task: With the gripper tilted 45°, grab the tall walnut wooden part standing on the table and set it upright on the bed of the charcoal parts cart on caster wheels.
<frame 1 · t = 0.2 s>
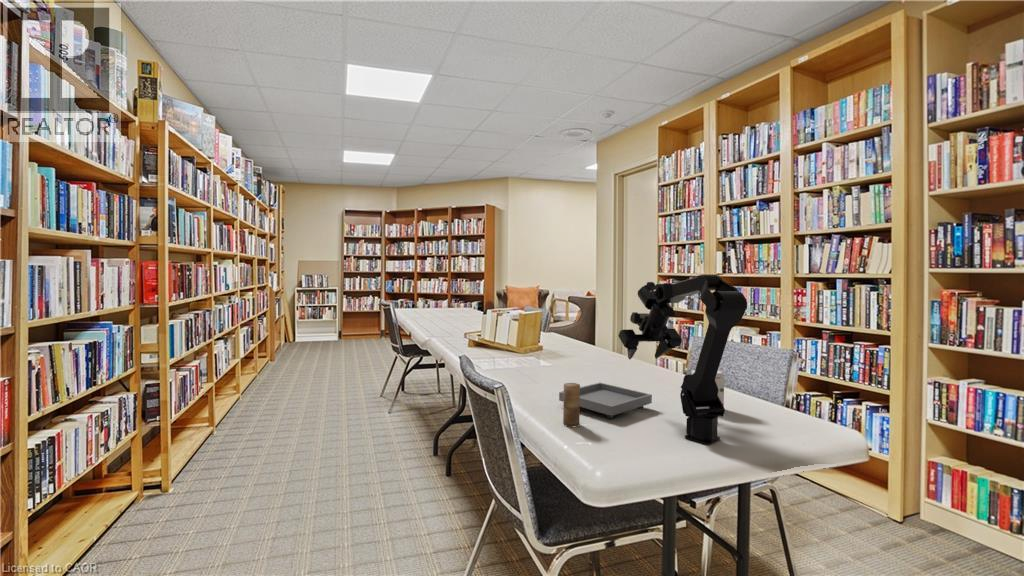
hand: (642, 358, 152), 15 cm above the table, tool tilted 35°, fingers open, 9 cm apart
parts cart: (605, 407, 149), on the table
ink box: (706, 409, 148), on the table
walnut part: (571, 424, 133), on the table
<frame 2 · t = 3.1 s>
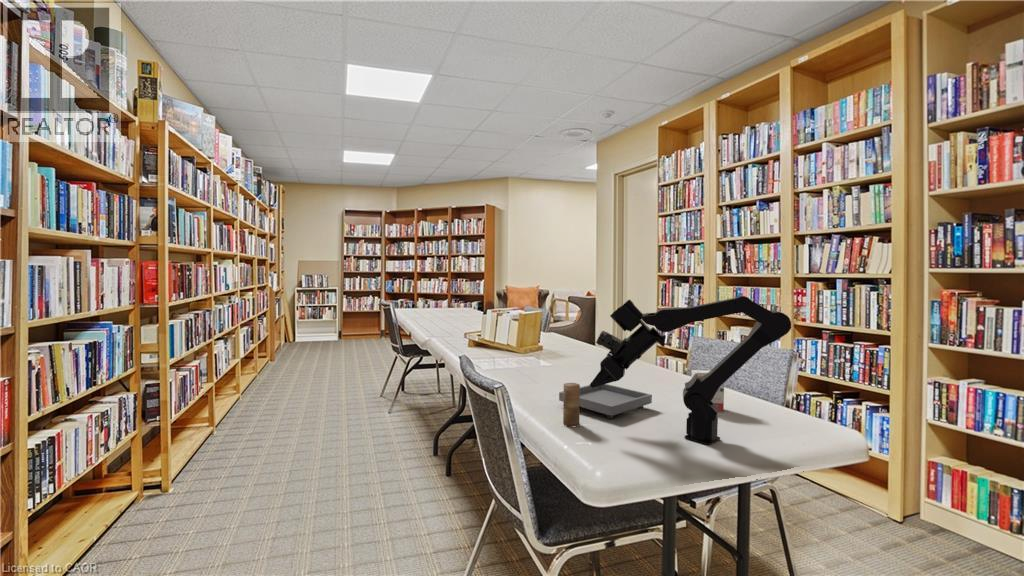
hand: (593, 382, 130), 12 cm above the table, tool tilted 45°, fingers open, 9 cm apart
nothing on the table moved.
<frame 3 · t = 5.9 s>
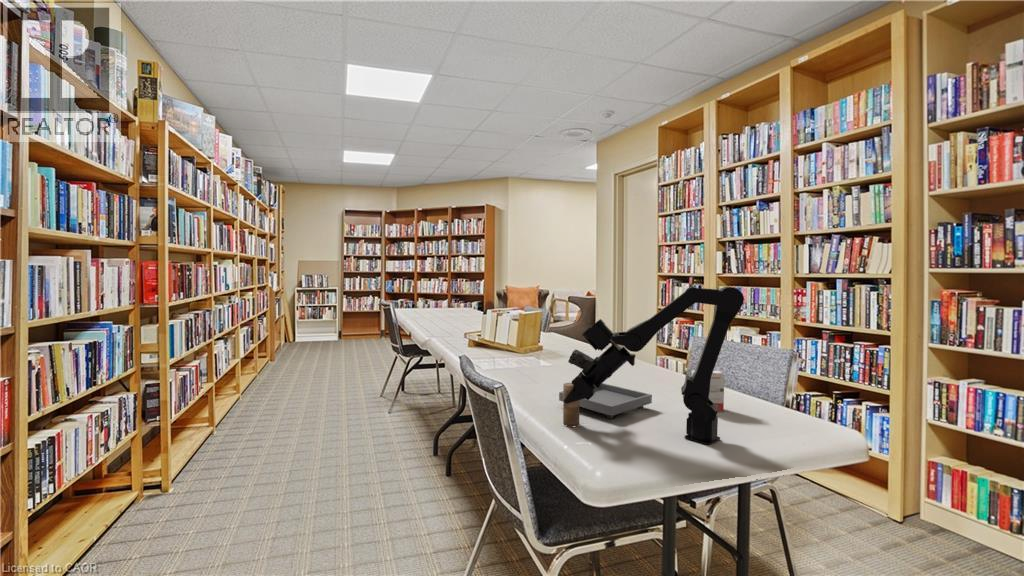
hand: (566, 400, 133), 7 cm above the table, tool tilted 45°, fingers closed on walnut part, 4 cm apart
walnut part: (571, 424, 133), on the table, touching gripper
everything else where it was.
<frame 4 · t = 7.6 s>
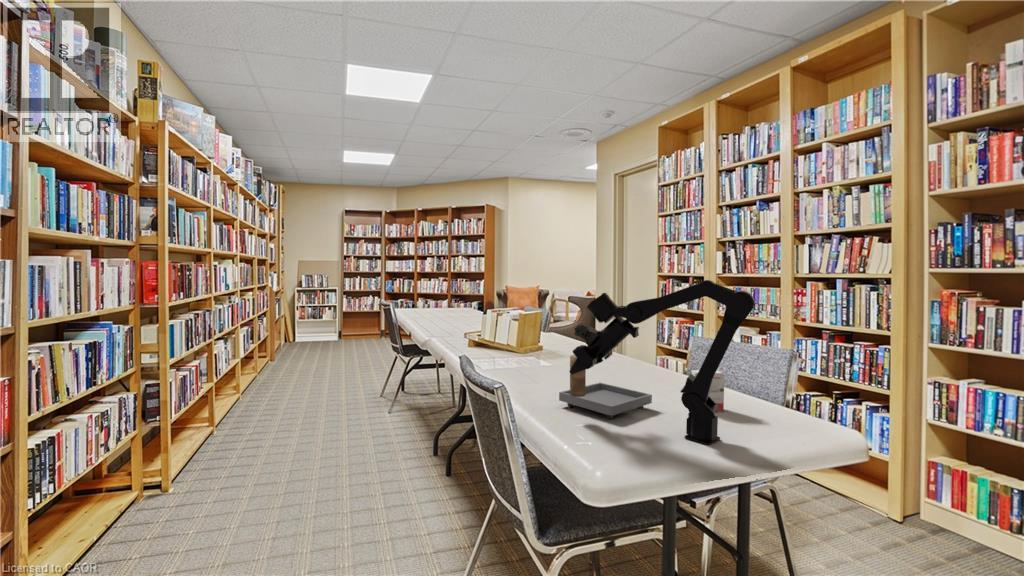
hand: (573, 371, 138), 13 cm above the table, tool tilted 45°, fingers closed on walnut part, 4 cm apart
walnut part: (577, 394, 137), point 7 cm above the table, touching gripper
everything else where it was.
when the fingers open (10 cm above the table, at t = 9.5 s): walnut part stays where it is, resting on parts cart.
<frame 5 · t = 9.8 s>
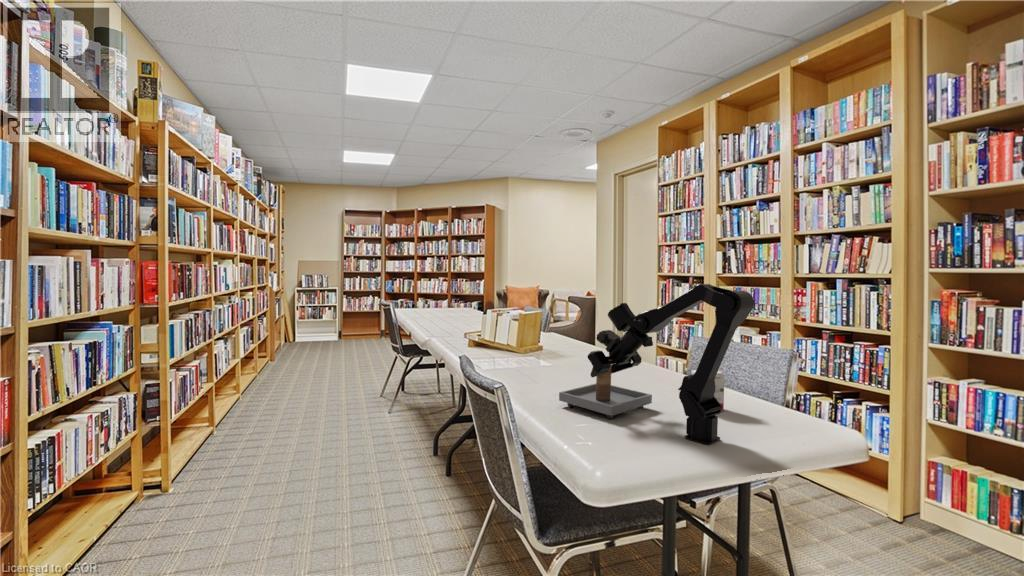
hand: (600, 374, 149), 10 cm above the table, tool tilted 45°, fingers open, 7 cm apart
walnut part: (603, 399, 148), point 3 cm above the table, touching parts cart
everything else where it was.
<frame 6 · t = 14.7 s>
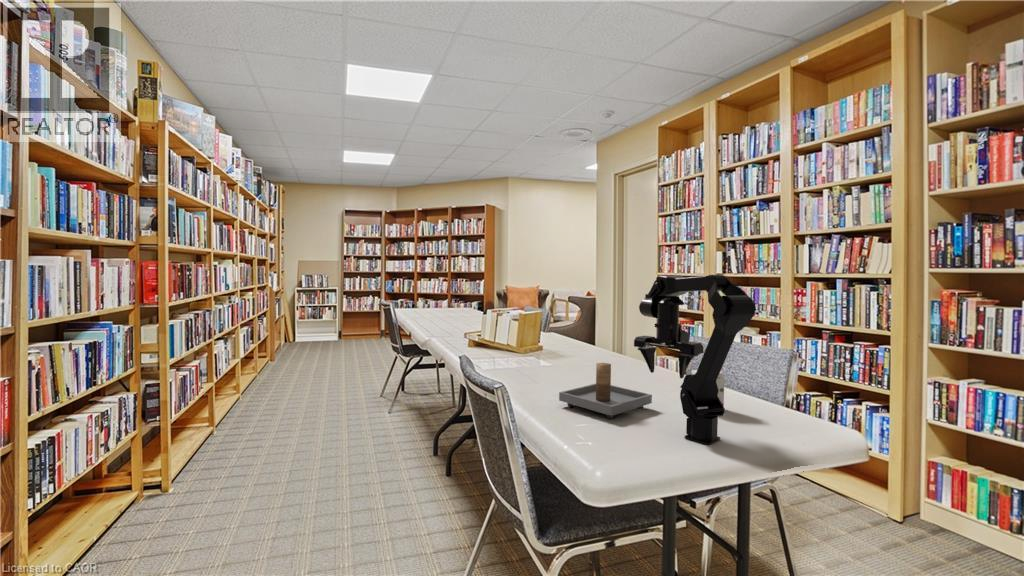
hand: (666, 375, 136), 13 cm above the table, tool pointing down, fingers open, 9 cm apart
nothing on the table moved.
at the end: walnut part inside the target area on the parts cart (1.0 cm from its centre), point 2.6 cm above the parts cart's base; walnut part tilted 0°; the gripper is holding nothing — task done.
